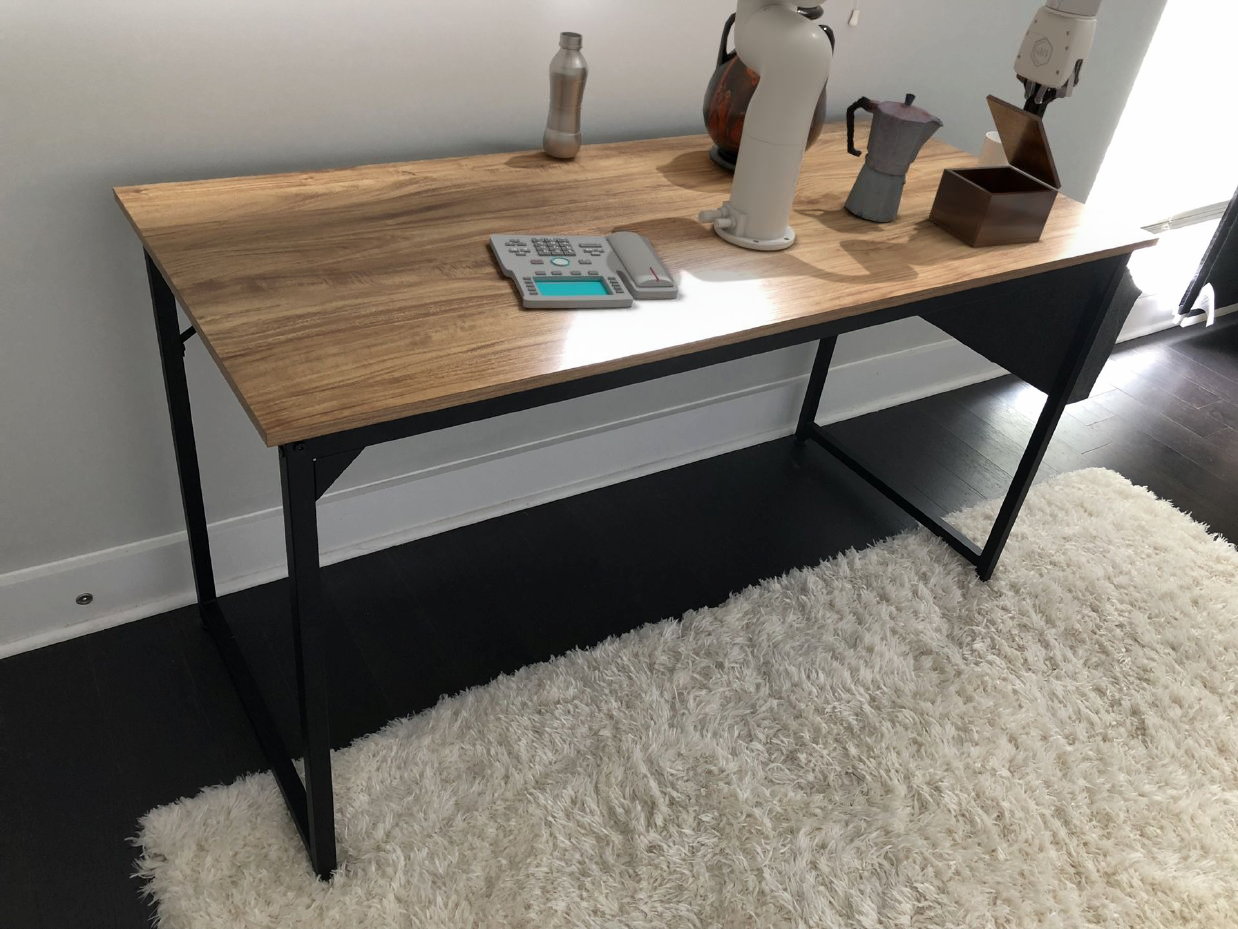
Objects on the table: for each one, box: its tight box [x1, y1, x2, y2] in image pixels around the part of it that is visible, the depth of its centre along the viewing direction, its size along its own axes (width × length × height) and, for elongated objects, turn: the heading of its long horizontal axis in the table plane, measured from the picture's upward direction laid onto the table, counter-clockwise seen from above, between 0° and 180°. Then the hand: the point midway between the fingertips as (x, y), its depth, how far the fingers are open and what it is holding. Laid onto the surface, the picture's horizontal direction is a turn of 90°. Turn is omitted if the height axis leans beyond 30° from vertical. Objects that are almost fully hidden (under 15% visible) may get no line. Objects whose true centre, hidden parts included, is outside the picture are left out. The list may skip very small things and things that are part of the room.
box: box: [927, 165, 1059, 248], centre depth 163 cm, size 15×12×9 cm
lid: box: [985, 93, 1062, 191], centre depth 158 cm, size 15×12×1 cm
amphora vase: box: [701, 4, 836, 176], centre depth 169 cm, size 22×22×28 cm
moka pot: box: [844, 93, 945, 223], centre depth 160 cm, size 10×15×20 cm, turn 78°
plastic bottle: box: [542, 31, 589, 159], centre depth 164 cm, size 6×7×20 cm
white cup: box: [976, 131, 1020, 171], centre depth 179 cm, size 8×8×10 cm
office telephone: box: [489, 231, 679, 309], centre depth 133 cm, size 23×3×20 cm
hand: (1028, 126), depth 156 cm, fingers closed
